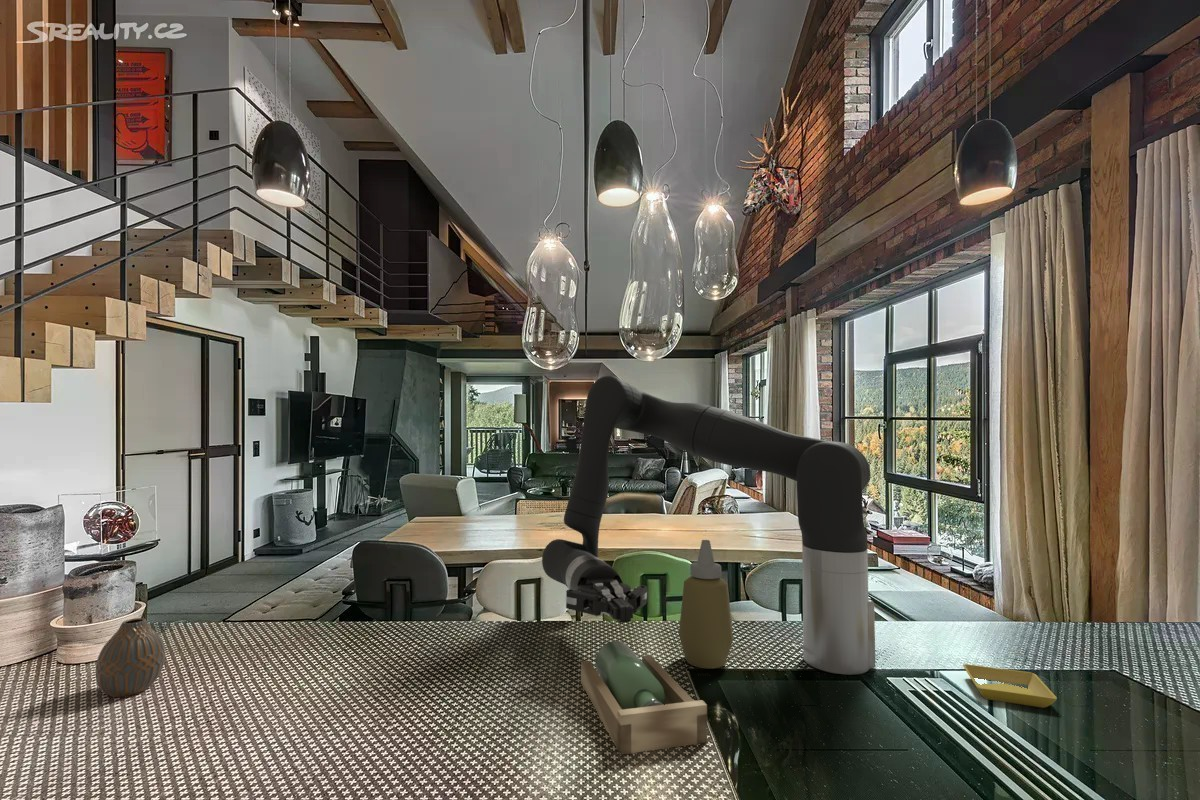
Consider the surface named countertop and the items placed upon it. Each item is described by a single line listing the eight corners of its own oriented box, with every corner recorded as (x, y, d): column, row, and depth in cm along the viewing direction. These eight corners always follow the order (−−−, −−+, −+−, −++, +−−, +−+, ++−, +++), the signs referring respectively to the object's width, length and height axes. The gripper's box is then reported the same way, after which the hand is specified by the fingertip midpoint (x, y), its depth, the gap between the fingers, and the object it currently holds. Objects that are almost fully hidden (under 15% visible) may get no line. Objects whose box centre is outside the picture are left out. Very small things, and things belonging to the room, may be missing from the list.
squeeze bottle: (734, 675, 80) (733, 546, 81) (676, 670, 82) (677, 543, 83) (732, 654, 88) (732, 537, 89) (680, 650, 90) (680, 534, 91)
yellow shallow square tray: (977, 703, 73) (977, 686, 74) (962, 677, 81) (962, 662, 82) (1059, 716, 70) (1058, 699, 70) (1035, 688, 78) (1034, 672, 78)
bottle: (631, 637, 79) (676, 687, 64) (633, 677, 79) (679, 736, 63) (594, 644, 78) (630, 695, 62) (596, 684, 77) (634, 746, 62)
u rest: (650, 676, 79) (650, 647, 80) (706, 742, 62) (707, 704, 62) (580, 684, 77) (581, 653, 77) (620, 754, 60) (620, 715, 60)
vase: (175, 683, 75) (179, 616, 76) (116, 706, 69) (122, 632, 69) (140, 675, 77) (144, 610, 78) (80, 697, 71) (85, 625, 71)
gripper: (552, 560, 90) (577, 588, 73) (631, 557, 93) (672, 583, 77) (551, 608, 89) (576, 648, 73) (630, 603, 93) (672, 640, 76)
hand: (625, 614), depth 75 cm, fingers closed
